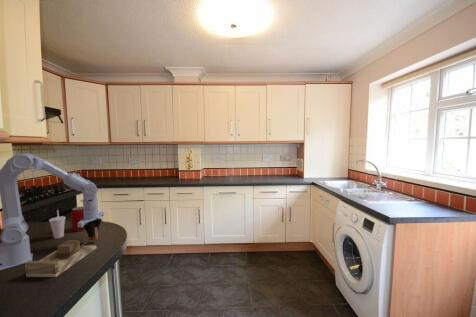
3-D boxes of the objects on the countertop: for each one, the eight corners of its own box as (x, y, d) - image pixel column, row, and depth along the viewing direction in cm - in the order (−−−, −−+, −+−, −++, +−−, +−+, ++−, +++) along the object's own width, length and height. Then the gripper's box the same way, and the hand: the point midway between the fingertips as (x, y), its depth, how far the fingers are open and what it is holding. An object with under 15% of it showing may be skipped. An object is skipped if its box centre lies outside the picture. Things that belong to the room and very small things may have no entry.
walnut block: (70, 258, 83) (69, 243, 82) (58, 258, 83) (57, 243, 82) (99, 238, 99) (98, 226, 99) (89, 238, 99) (88, 226, 99)
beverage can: (85, 225, 119) (83, 205, 118) (89, 228, 115) (87, 207, 114) (70, 229, 114) (69, 208, 113) (74, 233, 110) (72, 211, 109)
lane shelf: (56, 277, 73) (54, 263, 73) (26, 276, 74) (24, 262, 73) (96, 248, 93) (95, 237, 93) (73, 248, 93) (72, 237, 93)
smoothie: (59, 239, 102) (57, 212, 101) (46, 239, 102) (44, 212, 101) (70, 233, 108) (68, 208, 107) (58, 234, 109) (56, 208, 107)
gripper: (87, 213, 90) (89, 243, 91) (109, 203, 104) (111, 229, 105) (71, 213, 90) (74, 243, 91) (95, 203, 105) (97, 229, 106)
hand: (93, 235), depth 98 cm, fingers closed on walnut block, 2 cm apart
